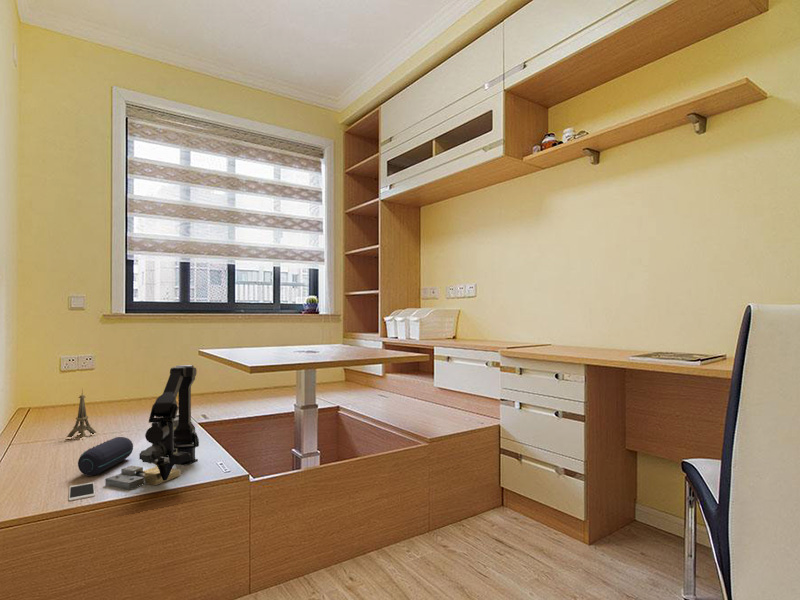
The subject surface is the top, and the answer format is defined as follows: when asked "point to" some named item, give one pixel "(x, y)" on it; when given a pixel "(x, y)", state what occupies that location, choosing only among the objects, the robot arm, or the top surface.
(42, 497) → the top surface
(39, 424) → the top surface
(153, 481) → the tan flat block
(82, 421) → the eiffel tower
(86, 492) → the smartphone
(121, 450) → the portable speaker
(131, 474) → the grey stepped block
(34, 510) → the top surface
